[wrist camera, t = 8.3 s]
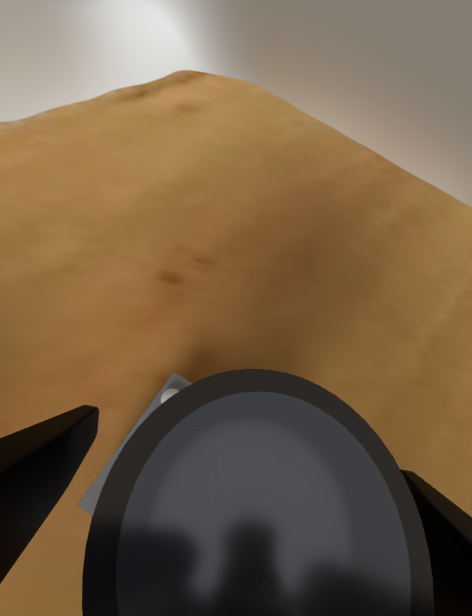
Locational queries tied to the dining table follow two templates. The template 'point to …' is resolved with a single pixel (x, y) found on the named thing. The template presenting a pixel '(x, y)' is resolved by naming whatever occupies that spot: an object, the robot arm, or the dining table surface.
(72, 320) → the dining table surface
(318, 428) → the dark grey cylinder
